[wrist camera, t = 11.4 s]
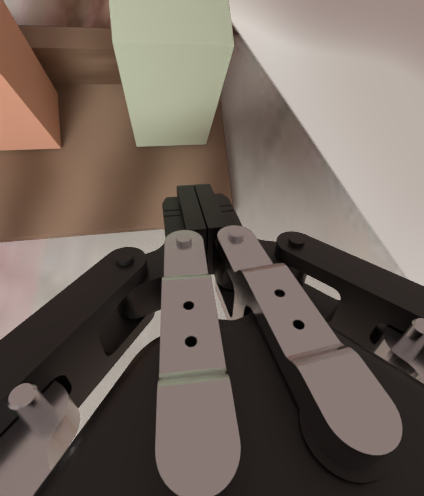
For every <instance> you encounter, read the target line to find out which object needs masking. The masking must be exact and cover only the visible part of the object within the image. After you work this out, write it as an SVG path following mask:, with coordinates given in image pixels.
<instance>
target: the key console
mask: <svg viewBox="0 0 424 496" xmlns="http://www.w3.org/2000/svg"><path fill="white" fill-rule="evenodd" d="M18 27H19V28H20V30H21V32H22V34H23V35H24V37H25V39H26V40H27V42H28V44H29V45H30V47H31V49H32V50H33V52H34V54H35V56H36V57H37V59H38V61H39V62H40V64H41V66H42V67H43V69H44V71H45V73H46V74H47V76H48V78H49V79H50V81H51V83H52V84H53V86H54V88H55V90H56V91H57V93H58V106H59V122H60V137H61V149H31V150H2V151H0V242H9V241H21V240H34V239H46V238H58V237H70V236H82V235H94V234H107V233H119V232H131V231H143V230H155V229H164V219H163V209H162V203H163V201H164V200H165V198H166V197H177V186H179V185H194V184H209V183H210V185H211V187H212V190H213V192H214V194H219V193H222V194H223V195H225V196H226V197H228V198H229V200H230V202H231V204H232V206H233V203H232V195H231V186H230V178H229V170H228V161H227V153H226V145H225V136H224V128H223V120H222V111H221V103H220V98H219V101H218V105H217V108H216V112H215V115H214V119H213V122H212V126H211V129H210V133H209V136H208V139H207V143H206V144H203V145H174V146H145V147H137V146H136V142H135V138H134V133H133V129H132V125H131V120H130V116H129V112H128V107H127V103H126V99H125V94H124V90H123V86H122V82H121V77H120V73H119V69H118V64H117V60H116V56H115V51H114V47H113V43H112V31H111V28H82V27H51V26H20V25H18Z"/></svg>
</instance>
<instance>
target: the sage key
mask: <svg viewBox="0 0 424 496" xmlns="http://www.w3.org/2000/svg"><path fill="white" fill-rule="evenodd" d="M109 7H110V19H111V31H112V43H113V47H114V51H115V56H116V60H117V64H118V69H119V73H120V77H121V82H122V86H123V90H124V94H125V99H126V103H127V107H128V112H129V116H130V120H131V125H132V129H133V133H134V138H135V142H136V146H137V147H145V146H174V145H203V144H206V143H207V139H208V136H209V133H210V129H211V126H212V122H213V119H214V115H215V112H216V108H217V105H218V101H219V98H220V94H221V91H222V87H223V84H224V80H225V77H226V73H227V70H228V66H229V63H230V59H231V56H232V52H233V49H234V39H233V31H232V23H231V16H230V7H229V0H109Z"/></svg>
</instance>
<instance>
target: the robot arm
mask: <svg viewBox="0 0 424 496" xmlns="http://www.w3.org/2000/svg"><path fill="white" fill-rule="evenodd" d="M162 209H163V219H164V229H165V238H166V239H165V243H164V244H163V245H162V246H161V247H160V248H159V249H157V250H155V251H153V252H150V253H147V254H145V253H144V252H143V251H142V250H140V249H138V248H134V247H124V248H119V249H116V250H114V251H112V252H111V253H109V254H108V255H107V256H105V257H104V258H103V259H102V260H100V261H99V262H98V263H97V264H95V265H94V266H93V267H92V268H90V269H89V270H88V271H86V272H85V273H84V274H83V275H81V276H80V277H79V278H78V279H76V280H75V281H74V282H73V283H71V284H70V285H69V286H68V287H66V288H65V289H64V290H63V291H61V292H60V293H59V294H58V295H56V296H55V297H54V298H53V299H51V300H50V301H49V302H48V303H46V304H45V305H44V306H43V307H41V308H40V309H39V310H38V311H36V312H35V313H34V314H33V315H31V316H30V317H29V318H27V319H26V320H25V321H24V322H22V323H21V324H20V325H19V326H17V327H16V328H15V329H14V330H12V331H11V332H10V333H9V334H7V335H6V336H5V337H4V338H2V339H1V340H0V496H424V286H422V285H419V284H417V283H415V282H413V281H410V280H408V279H406V278H403V277H401V276H399V275H397V274H394V273H392V272H390V271H387V270H385V269H383V268H381V267H378V266H376V265H374V264H371V263H369V262H367V261H365V260H362V259H360V258H358V257H355V256H353V255H351V254H349V253H346V252H344V251H342V250H339V249H337V248H335V247H333V246H330V245H328V244H326V243H323V242H321V241H319V240H316V239H314V238H312V237H310V236H307V235H305V234H302V233H299V232H285V233H282V234H280V235H279V236H278V238H277V242H273V241H264V240H259V239H257V238H256V237H255V235H254V234H253V232H252V231H251V230H249V229H248V228H245V227H243V226H242V224H241V222H240V220H239V218H238V216H237V214H236V212H235V211H234V208H233V206H232V204H231V202H230V200H229V198H228V197H226V196H225V195H223V194H222V193H219V194H214V192H213V190H212V187H211V185H210V183H209V184H194V185H179V186H177V197H166V198H165V200H164V201H163V203H162ZM211 274H214V275H215V278H216V279H215V289H216V292H217V295H218V297H219V300H220V303H221V305H222V308H223V311H224V313H225V316H226V318H227V320H221V319H218V315H217V309H216V303H215V297H214V291H213V285H212V279H211ZM307 275H309V276H311V277H313V278H315V279H317V280H319V281H321V282H323V283H325V284H327V285H329V286H331V287H332V288H334V289H336V290H337V291H338V292H339V294H340V296H341V300H336V299H334V298H332V297H330V296H328V295H326V294H324V293H322V292H320V291H319V290H317V289H315V288H313V287H311V286H309V285H307V284H305V283H304V282H305V279H306V276H307ZM160 309H161V329H160V337H158V338H156V339H155V340H153V341H152V342H150V343H149V344H148V345H146V346H145V347H144V348H143V349H142V350H141V351H140V352H139V353H138V354H137V355H136V356H135V357H134V359H133V360H132V361H131V363H130V364H129V365H128V367H127V368H126V370H125V371H124V372H123V374H122V375H121V376H120V378H119V379H118V380H117V382H116V383H115V385H114V386H113V387H112V389H111V390H110V391H109V393H108V394H107V395H106V397H105V398H104V400H103V401H102V402H101V404H100V405H99V406H98V408H97V409H96V410H95V412H94V413H93V414H92V416H91V417H90V419H89V420H88V421H87V423H86V424H85V425H84V427H83V428H82V429H81V431H80V432H79V434H78V435H77V436H76V438H75V439H74V440H73V438H74V437H75V435H76V433H77V431H78V428H79V423H80V413H79V410H78V408H79V407H80V406H81V404H82V403H83V402H84V401H85V400H86V398H87V397H88V396H89V395H90V393H91V392H92V391H93V390H94V389H95V387H96V386H97V385H98V384H99V383H100V381H101V380H102V379H103V378H104V377H105V375H106V374H107V373H108V372H109V371H110V369H111V368H112V367H113V366H114V365H115V363H116V362H117V361H118V360H119V358H120V357H121V356H122V355H123V354H124V352H125V351H126V350H127V349H128V348H129V346H130V345H131V344H132V343H133V342H134V340H135V339H136V338H137V337H138V336H139V334H140V333H141V332H142V331H143V330H144V328H145V327H146V326H147V325H148V324H149V322H150V321H151V320H152V318H153V317H154V314H155V312H156V311H158V310H160ZM72 440H73V442H72ZM71 442H72V443H71ZM70 443H71V444H70ZM69 445H70V446H69ZM68 446H69V447H68Z"/></svg>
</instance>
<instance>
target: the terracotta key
mask: <svg viewBox="0 0 424 496" xmlns="http://www.w3.org/2000/svg"><path fill="white" fill-rule="evenodd" d="M31 149H61V137H60V122H59V106H58V93H57V91H56V90H55V88H54V86H53V84H52V83H51V81H50V79H49V78H48V76H47V74H46V73H45V71H44V69H43V67H42V66H41V64H40V62H39V61H38V59H37V57H36V56H35V54H34V52H33V50H32V49H31V47H30V45H29V44H28V42H27V40H26V39H25V37H24V35H23V34H22V32H21V30H20V28H19V27H18V25H17V23H16V22H15V20H14V18H13V17H12V15H11V13H10V11H9V10H8V8H7V6H6V5H5V3H4V1H3V0H0V151H2V150H31Z"/></svg>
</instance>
